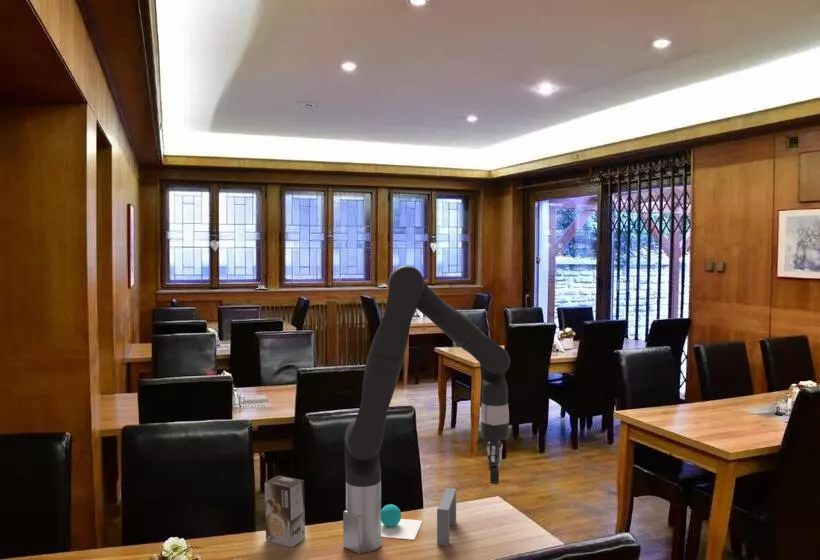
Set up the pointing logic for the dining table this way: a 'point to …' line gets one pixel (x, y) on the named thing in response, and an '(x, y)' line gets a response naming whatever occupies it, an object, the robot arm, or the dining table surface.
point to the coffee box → (285, 510)
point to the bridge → (446, 516)
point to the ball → (390, 515)
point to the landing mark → (402, 529)
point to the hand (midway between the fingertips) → (494, 483)
